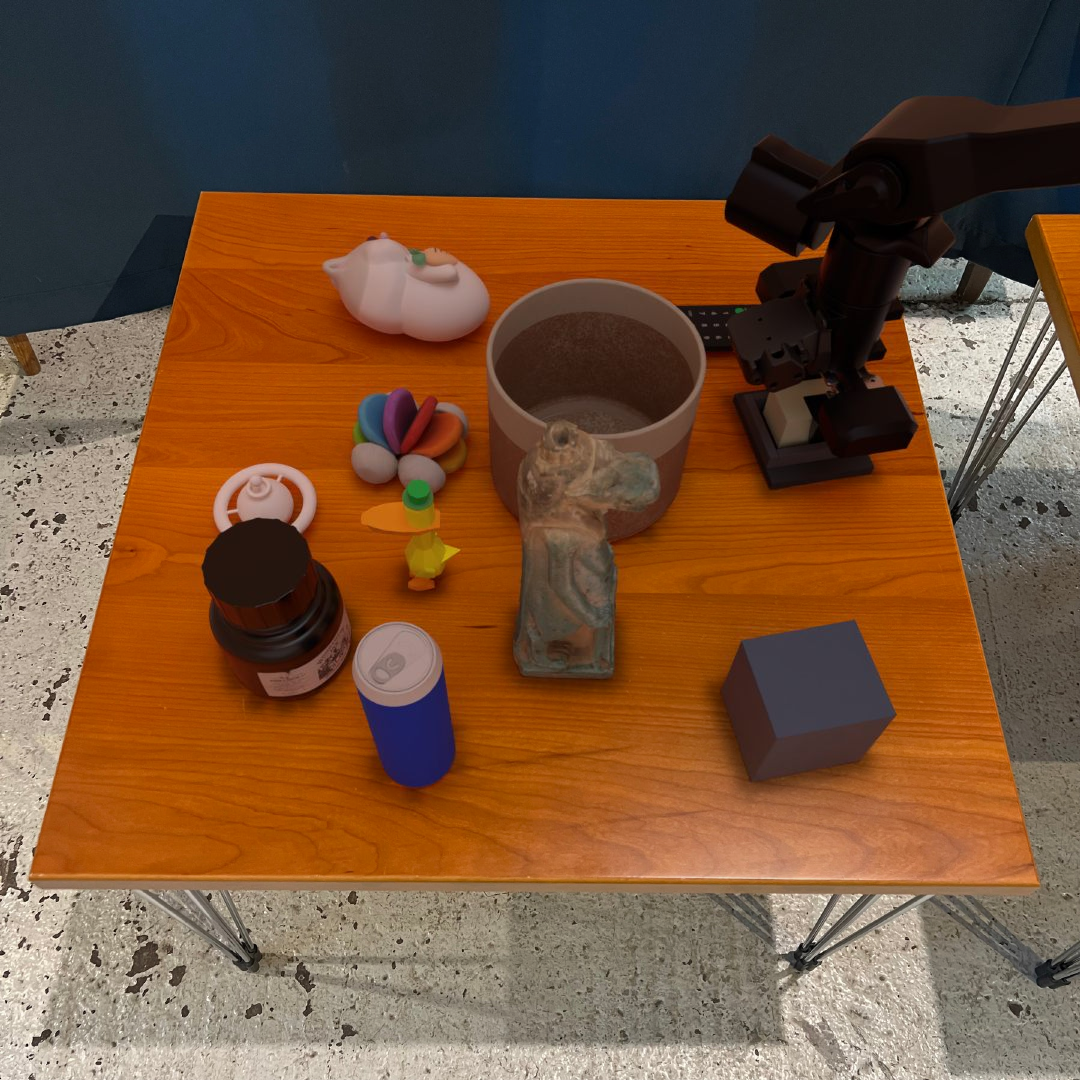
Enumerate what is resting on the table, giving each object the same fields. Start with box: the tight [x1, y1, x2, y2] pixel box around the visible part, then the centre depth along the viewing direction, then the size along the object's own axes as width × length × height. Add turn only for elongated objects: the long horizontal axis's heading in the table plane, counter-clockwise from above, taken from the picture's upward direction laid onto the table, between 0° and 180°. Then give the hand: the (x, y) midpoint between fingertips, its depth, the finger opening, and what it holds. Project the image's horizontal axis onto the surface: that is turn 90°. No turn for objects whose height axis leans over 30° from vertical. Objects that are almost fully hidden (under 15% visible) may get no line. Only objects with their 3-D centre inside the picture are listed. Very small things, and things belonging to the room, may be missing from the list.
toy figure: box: [360, 479, 461, 592], centre depth 70 cm, size 7×4×12 cm, turn 91°
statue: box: [512, 420, 661, 680], centre depth 62 cm, size 7×8×25 cm
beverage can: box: [351, 621, 456, 788], centre depth 61 cm, size 5×5×15 cm
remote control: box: [675, 303, 761, 353], centre depth 89 cm, size 5×24×1 cm, turn 92°
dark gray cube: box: [720, 619, 897, 783], centre depth 66 cm, size 8×7×8 cm
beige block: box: [763, 378, 832, 448], centre depth 81 cm, size 6×4×4 cm, turn 102°
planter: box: [485, 277, 707, 543], centre depth 75 cm, size 16×16×14 cm
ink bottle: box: [201, 517, 353, 701], centre depth 67 cm, size 10×9×12 cm
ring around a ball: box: [212, 462, 318, 535], centre depth 76 cm, size 8×6×8 cm
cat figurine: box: [321, 231, 491, 343], centre depth 87 cm, size 10×8×15 cm
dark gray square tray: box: [732, 388, 875, 491], centre depth 83 cm, size 9×10×2 cm
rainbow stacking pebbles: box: [350, 387, 470, 494], centre depth 79 cm, size 8×10×7 cm
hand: (805, 422), depth 82 cm, fingers closed on beige block, 4 cm apart
